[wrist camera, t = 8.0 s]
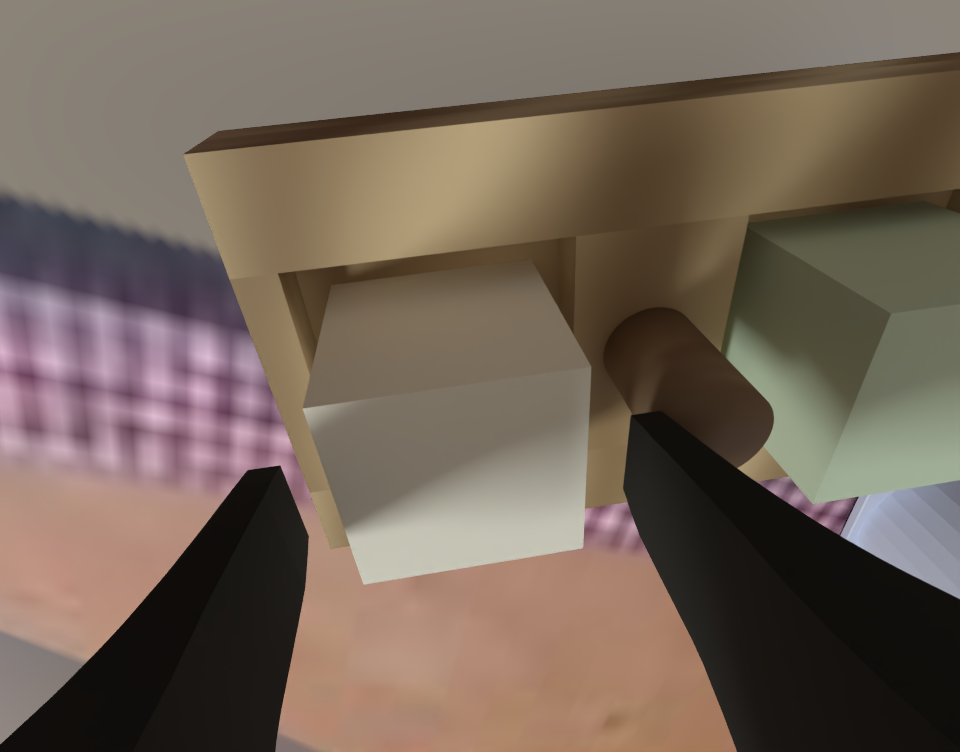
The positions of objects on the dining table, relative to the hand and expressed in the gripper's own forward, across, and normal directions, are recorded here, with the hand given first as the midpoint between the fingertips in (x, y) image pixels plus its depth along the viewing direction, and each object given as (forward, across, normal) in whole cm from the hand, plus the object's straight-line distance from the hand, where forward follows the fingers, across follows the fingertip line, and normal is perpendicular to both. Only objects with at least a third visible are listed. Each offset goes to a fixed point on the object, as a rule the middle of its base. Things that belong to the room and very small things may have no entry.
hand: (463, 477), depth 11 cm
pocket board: (+6, -5, 0) cm, 8 cm away
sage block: (+6, -10, 0) cm, 12 cm away
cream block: (+5, 0, 0) cm, 5 cm away
